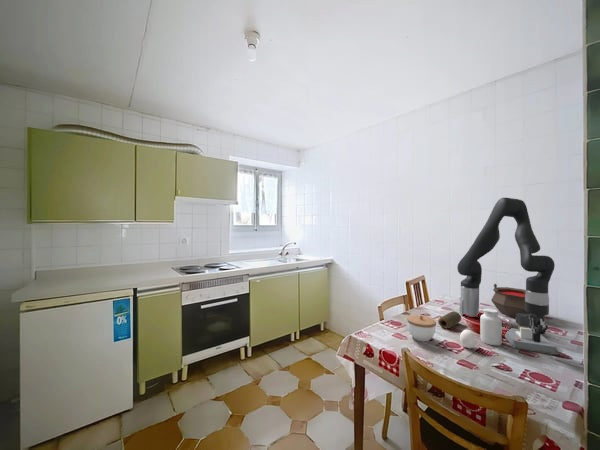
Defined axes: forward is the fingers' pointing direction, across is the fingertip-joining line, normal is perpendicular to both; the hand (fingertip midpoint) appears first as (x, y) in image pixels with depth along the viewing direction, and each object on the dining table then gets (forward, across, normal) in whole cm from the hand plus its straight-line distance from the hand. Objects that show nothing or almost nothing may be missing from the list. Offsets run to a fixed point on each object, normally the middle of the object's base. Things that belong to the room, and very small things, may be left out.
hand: (536, 341), depth 108 cm
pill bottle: (+5, -4, -15) cm, 16 cm away
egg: (+5, +6, -26) cm, 27 cm away
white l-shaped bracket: (+1, -9, 0) cm, 9 cm away
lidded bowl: (+5, +4, -45) cm, 46 cm away
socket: (+5, -9, 0) cm, 10 cm away
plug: (+5, -25, +5) cm, 26 cm away
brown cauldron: (+5, -52, +10) cm, 53 cm away
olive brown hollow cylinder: (+5, -18, -30) cm, 35 cm away
